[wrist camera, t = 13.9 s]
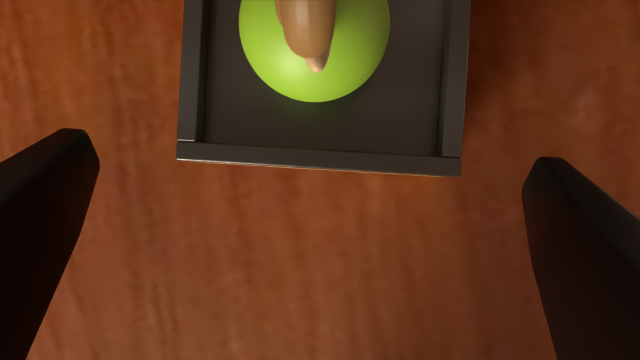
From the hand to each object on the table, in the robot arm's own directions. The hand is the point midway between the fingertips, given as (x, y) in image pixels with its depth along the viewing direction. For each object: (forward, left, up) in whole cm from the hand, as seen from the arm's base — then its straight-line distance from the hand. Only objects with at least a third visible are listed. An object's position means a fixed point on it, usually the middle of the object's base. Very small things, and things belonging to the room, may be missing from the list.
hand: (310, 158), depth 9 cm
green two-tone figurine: (+5, +3, -10) cm, 12 cm away
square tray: (+5, +3, -13) cm, 14 cm away
